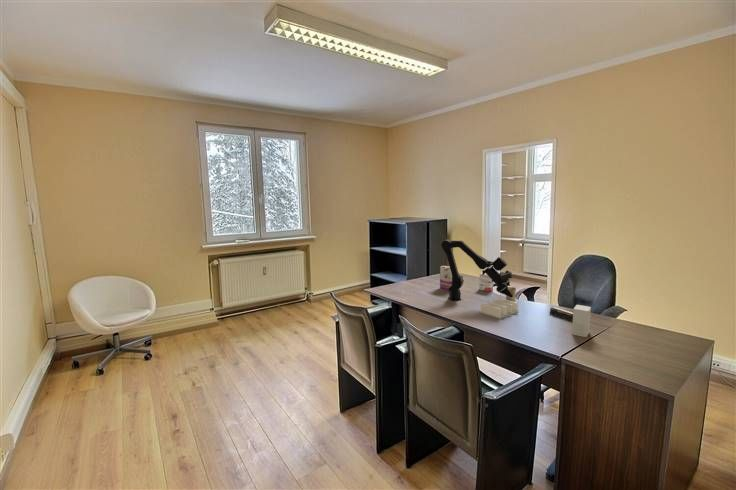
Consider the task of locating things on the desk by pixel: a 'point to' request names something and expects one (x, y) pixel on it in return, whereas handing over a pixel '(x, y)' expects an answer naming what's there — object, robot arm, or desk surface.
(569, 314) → the brown flat box
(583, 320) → the small box
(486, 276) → the ink box
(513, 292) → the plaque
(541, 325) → the desk surface
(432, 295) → the desk surface
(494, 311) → the rack
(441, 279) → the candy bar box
